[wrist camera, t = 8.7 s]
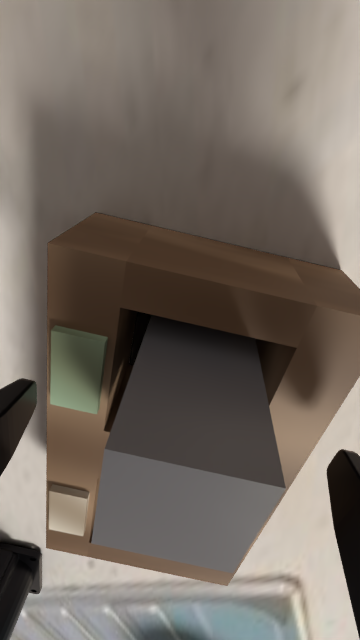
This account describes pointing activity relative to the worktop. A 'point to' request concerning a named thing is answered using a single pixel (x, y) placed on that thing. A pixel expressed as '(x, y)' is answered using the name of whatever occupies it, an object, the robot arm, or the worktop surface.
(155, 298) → the socket block
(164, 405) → the plug
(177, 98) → the worktop surface
